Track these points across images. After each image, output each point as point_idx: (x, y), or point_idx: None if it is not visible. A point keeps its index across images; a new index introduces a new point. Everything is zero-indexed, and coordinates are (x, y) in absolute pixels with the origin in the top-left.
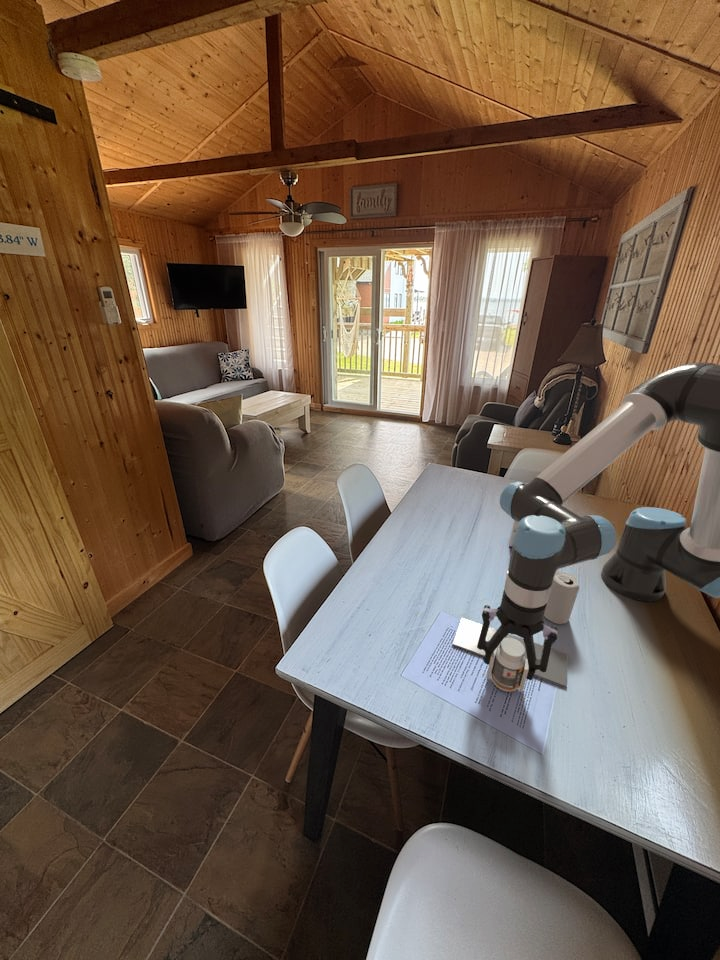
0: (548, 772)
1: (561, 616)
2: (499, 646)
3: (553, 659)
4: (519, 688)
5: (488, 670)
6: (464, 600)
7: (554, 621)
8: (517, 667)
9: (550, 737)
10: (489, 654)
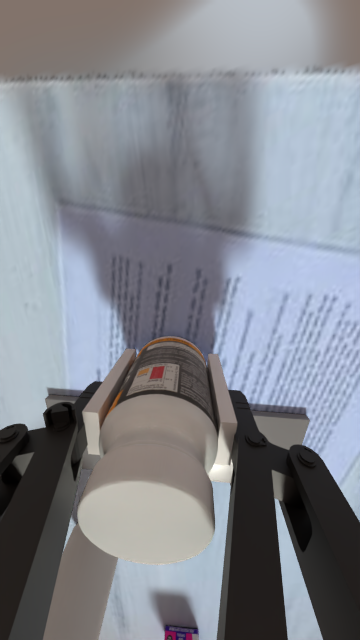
0: (33, 153)
1: (76, 548)
2: None
3: None
4: (132, 353)
5: (221, 372)
6: (279, 523)
7: None
8: (120, 411)
9: (51, 260)
10: (246, 432)
